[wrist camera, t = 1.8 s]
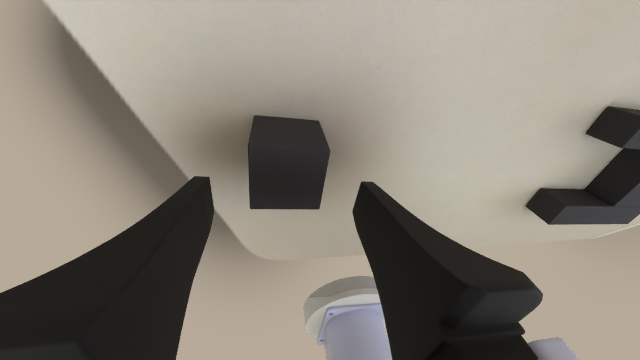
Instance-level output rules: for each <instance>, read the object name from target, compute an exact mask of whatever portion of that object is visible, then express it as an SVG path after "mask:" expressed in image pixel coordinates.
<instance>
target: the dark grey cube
mask: <svg viewBox="0 0 640 360" xmlns="http://www.w3.org/2000/svg"><path fill="white" fill-rule="evenodd" d="M329 155H330V149H329V146H328V144H327V141H326V138H325V136H324V133H323V130H322V128H321V125H320V123H319V121H314V120H302V119H290V118H278V117H266V116H254V120H253V124H252V129H251V134H250V139H249V144H248V161H249V195H250V209H319V208H320V203H321V198H322V192H323V187H324V182H325V176H326V171H327V166H328V160H329Z"/></svg>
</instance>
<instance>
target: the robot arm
mask: <svg viewBox="0 0 640 360" xmlns="http://www.w3.org/2000/svg"><path fill="white" fill-rule="evenodd" d="M352 212H353V216H354V221H355V225H356V229H357V232H358V235H359V237H360V240H361V243H362V245H363V248H364V251H365V253H366V256H367V258H368V261H369V263H370V266H371V269H372V272H373V275H374V279H375V283H376V286H377V290H378V294H379V298H380V302H381V303H371V304H358V305H346V306H333V307H328V308H327V310H326V313H325V316H324V319H323V323H322V326H321V329H320V332H319V336H318V339H317V344H318V345H324V346H325V353H326V360H579V358H578V357H577V356H576V355H575V354H574V353H573V351H572V350H571V349H570V348H569V347H568V346H567V345H566V343H565V342H564V341H563V340H562V339H561V338H558V337H557V338H549V339H542V340H536V341H532V342H530V343H527V342H526V341H525V340H524V338H522V336H521V335H523V334H524V333H525V330H524V329H523V327H522V326H521V325H520V324H519V321H520V320H521V319H523V318H524V317H525V316H526V315H528V314H529V313H530V312H532V311H533V310H534V309H535V308H536V307H537V306H538V305H539V304H540V303H541V301H542V297H543V294H542V292H541V291H540V290H539V289H538V288H537V287H536V286H535V284H534V283H533V282H532V281H531V280H530V279H529V278H528V277H527V276H526V275H525V274H524V273H523V272H521V271H518V270H516V269H514V268H511V267H508V266H506V265H503V264H501V263H499V262H496V261H494V260H491V259H489V258H487V257H485V256H483V255H480V254H479V253H476V252H474V251H472V250H470V249H468V248H466V247H464V246H462V245H460V244H459V243H457V242H455V241H453V240H451V239H450V238H448V237H446V236H444V235H443V234H441V233H439V232H438V231H436V230H435V229H433V228H432V227H430V226H428V225H427V224H425V223H424V222H423V221H421V220H420V219H418V218H417V217H416V216H414V215H413V214H412V213H410V212H409V211H408V210H406V209H405V208H404V207H403V206H401V205H400V204H399V203H398V202H397V201H395V200H394V199H393V198H392V197H391V196H389V195H388V194H387V193H386V192H385V191H383V190H382V189H381V188H380V187H379V186H377V185H376V184H375V183H373V182H361V184H360V188H359V191H358V194H357V198H356V201H355V205H354V208H353V211H352ZM213 215H214V206H213V199H212V192H211V185H210V178H209V177H199V176H194V177H193V178H192V179H191V180H190V181H188V182H187V183H186V184H185V185H184V186H183V187H182V188H180V189H179V190H178V191H177V192H176V193H175V194H173V195H172V196H171V197H170V198H169V199H167V200H166V201H165V202H164V203H163V204H161V205H160V206H159V207H157V208H156V209H155V210H153V211H152V212H151V213H149V214H148V215H147V216H146V217H144V218H143V219H141V220H140V221H139V222H137V223H136V224H134V225H133V226H131V227H130V228H128V229H127V230H125V231H123V232H122V233H120V234H119V235H117V236H115V237H114V238H112V239H111V240H109V241H107V242H105V243H103V244H102V245H100V246H98V247H96V248H94V249H93V250H91V251H89V252H87V253H86V254H83V255H82V256H80V257H78V258H76V259H74V260H72V261H70V262H68V263H66V264H64V265H62V266H60V267H58V268H56V269H54V270H51V271H49V272H47V273H45V274H43V275H41V276H39V277H37V278H34V279H32V280H30V281H28V282H25V283H23V284H21V285H18V286H16V287H14V288H12V289H9V290H7V291H4V292H2V293H0V360H176V355H177V350H178V345H179V340H180V335H181V330H182V326H183V321H184V317H185V312H186V308H187V303H188V299H189V295H190V290H191V286H192V283H193V279H194V276H195V273H196V270H197V267H198V264H199V262H200V259H201V256H202V253H203V250H204V247H205V244H206V242H207V239H208V236H209V233H210V229H211V224H212V220H213ZM383 318H384V320H385V324H386V329H387V333H388V337H387V334H386V331H385V328H384V325H383V322H382V320H383ZM388 339H389V340H388Z"/></svg>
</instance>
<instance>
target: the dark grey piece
mask: <svg viewBox="0 0 640 360" xmlns="http://www.w3.org/2000/svg"><path fill="white" fill-rule="evenodd" d="M586 134H588V135H590V136H593V137H595V138H597V139H600V140H602V141H605V142H607V143H610V144H612V145H615V146H617V147H620V148H624V150H623V151H622V152H621V153H620V154H619V155H618V156H617V157H616V158H615V159H614V160H613V161H612V162H611V163H610V164H609V165H608V166H607V167H606V168H605V169H604V170H603V171H602V172H601V173H600V175H599V176H598V177H597V178H596V179H595V180H594V181H593V182H592V183H591V184H590V185H589V186H588V187H587V188H586V189H585V190H567V189H540V190H539V191H538V192H537V193H536V195H535V196H534V197H533V198H532V200H531V201H530V202H529V203H528V204H527V206H526V207H527V208H528V209H530V210H531V211H532V212H533V213H535V214H536V215H537V216H538V217H540V218H541V219H542V220H544V221H545V222H546V223H547V224H549V225H553V224H628V223H629V222H631V221H632V220H633V219H634V218H635V217H637V216H638V215H639V214H640V110H633V109H625V108H617V107H608V108H607V109H606V110H605V111H604V112H603V114H602V115H601V116H600V117H599V119H598V120H597V121H596V122H595V123H594V125H593V126H592V127H591V128H590V129H589V131H588V132H587V133H586Z"/></svg>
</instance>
